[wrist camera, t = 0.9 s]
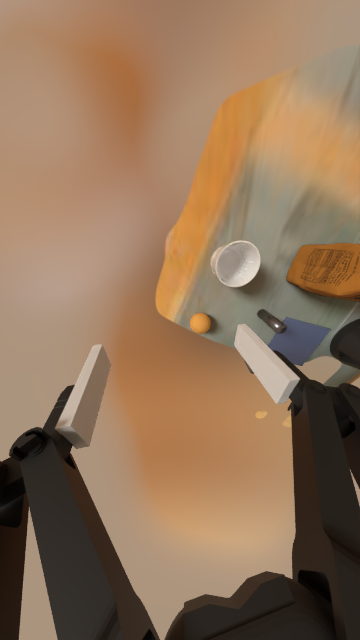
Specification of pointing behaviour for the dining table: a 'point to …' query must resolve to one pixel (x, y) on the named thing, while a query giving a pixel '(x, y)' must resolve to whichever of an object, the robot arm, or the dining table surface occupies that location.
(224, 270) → the white cup
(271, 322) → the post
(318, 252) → the coffee package
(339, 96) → the dining table surface
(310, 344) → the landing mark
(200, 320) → the ball
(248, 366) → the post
